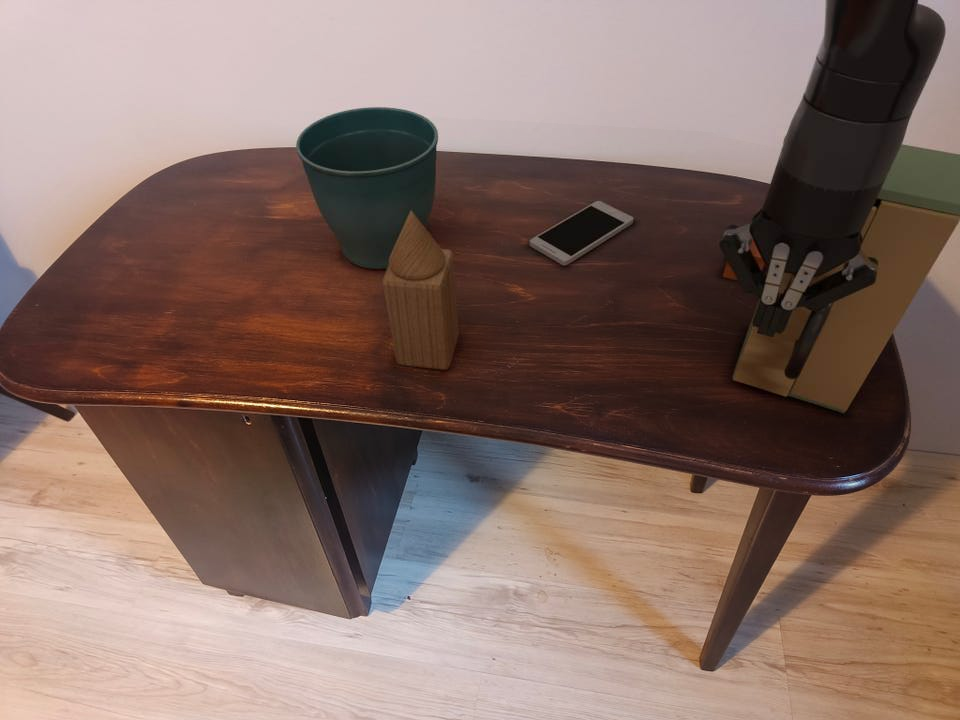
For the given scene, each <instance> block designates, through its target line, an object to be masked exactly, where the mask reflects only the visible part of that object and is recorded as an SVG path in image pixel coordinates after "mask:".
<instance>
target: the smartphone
mask: <svg viewBox="0 0 960 720" xmlns="http://www.w3.org/2000/svg"><path fill="white" fill-rule="evenodd" d="M633 223H634V217H633V216H632V215H630V214H627V213H625V212H624V211H621V210H620V209H618V208H615V207H613V206H611V205H609V204H608V203H605V202H603V201H601V200H596V201H594V202H592V203H591V204H589V205H588V206H586V207H584V208H582V209H580V210H578V211H577V212H575V213H573V214H572V215H569V216H568V217H566V218H565V219H563V220H562V221H559V223H556V224H554V225H553V226H551V227H549V228H548V229H546V230H544V231H543V232H541V233H539V234H537V235H536V236H534V237H532V238H530V240H529V247H531V248H533V249H534V250H536V251H538V252H539V253H541V254H543V255H545V256H546V257H548V258H550V259H551V260H553V261H555V262H556V263H558V264H559V265H562V266H568V265H570V264H571V263H573V262H574V261H576V260H577V259H578V258H580V257H582V256H585V254H587V253H589V252H590V251H592V250H593V249H595V248H596V247H598V246H600V245H601V244H603V243H604V242H606V241H608V240H609V239H610V238H612V237H614V236H616V235H617V234H618V233H620V232H622V231H624V230H625V229H626V228H628V227H630V226H632V225H633Z"/></svg>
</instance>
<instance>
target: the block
mask: <svg viewBox="0 0 960 720" xmlns="http://www.w3.org/2000/svg"><path fill="white" fill-rule="evenodd" d="M751 240H752V243H751V246H750V250H751V252H752V254H753V256H754V258H755V259H756V261H757V263H758V265H759V267H760V269H761V271H762V272H763V269H764V267H765V265H766V264H765V263H764V262H763V260H762V258H761V256H760V253H759V251H758V249H757V247H756V245H755V243H754V241H753V239H752V238H751ZM724 267H725V268H724V270H723V273H722V278H725V279H729V280H733V281H737V282H739V281H738V280H737V278H736V276H735V274H734V272H733V270H732V269H731V267H730V265H729V263H728V261H727V260H726V264H725V266H724Z"/></svg>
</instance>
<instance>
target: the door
mask: <svg viewBox="0 0 960 720" xmlns="http://www.w3.org/2000/svg"><path fill="white" fill-rule="evenodd" d="M876 209H877V207H874V206H873V207H872V210H871V212H870V214H869V216H868V218H867V220H866V222H865V224H864V227H863V229H862V231H861V235H862V239H863V237H864V235H865V233H866V231H867V229H868V227H869V224H870V222H871V220H872V218H873V216H874V214H875V212H876ZM847 262H848V261H847ZM845 263H846V262H845ZM845 263H843V264H842V265H840V266H838V267H836V268H834V269H832V270H830V271H828V272H827V273H825V274H823V275H821V276H818V277H813V278H812V280H811V281H810V283H809V285H808V286H810V285H812V284H814V283H816V282H818V281H820V280H822V279H824V278H826V277H828V276H830V275H832V274H834V273H836V272H838V271H840V270H842V269H843V266H844V264H845ZM791 276H792V274H790V273H784V275H783V278H782V282H781V286H780V289H779V292H778V293H780V294H781V293H782V294H783V292H784V290H785V289H786V286H787V284H788V282H789V280H790V278H791ZM780 294H779V296H780ZM778 299H779V298H778ZM831 304H832V303H831ZM831 304H829V305H826V306H824V307H822V308H820V309H817V310H814V311H811V310H808V309H807V308H806V307H797V308H795V309H794V310H793V311H792V314H791V316H790V318H789V321H788V323H787V325H786V328H785V330H784V331H783V332H782V333H781V334H779V333H776V332H775V334H774V336H773V337H769V336H766V335H762V334H759V333H757V331H758V327H754V326H753V327H752V329H751V332H750V335H749V337H748V340H747V343H746V345H745V348H744V351H743V353H742V356H741V359H740V361H739V364H738V367H737V369H736V372H735V375H734V377H733V376H732V377H733V378H732V381H735V382H738V383H742V384H745V385H747V386H751V387H754V388H757V389H760V390H763V391H767V392H770V393H773V394H775V395H780V396H782V397H786V398H787V397H788V393H789V391H790V389H791V387H792V385H793V383H794V381H795V379H796V378H798V377H799V375H800V373H801V371H802V369H803V367H804V365H805V363H806V361H807V359H808V357H809V355H810V353H811V351H812V349H813V346H814V344H815V342H816V340H817V338H818V336H819V334H820V332H821V330H822V328H823V326H824V324H825V322H826V320H827V318H828V315H829V313H830V310H831V309H830V306H831ZM766 331H767V330H766ZM765 334H766V333H765Z"/></svg>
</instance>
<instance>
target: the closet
mask: <svg viewBox="0 0 960 720" xmlns="http://www.w3.org/2000/svg"><path fill="white" fill-rule="evenodd" d="M873 206H874V207H877V209H876V212H875V214H874V216H873V218H872V220H871V222H870V224H869V227H868V229H867V231H866V233H865V235H864V237H863V239H862V244H861V250H862V251H863V253H864V254H865V255H866V256H867V257H873V258H875V259H877V260H878V271H877V276H876V281H875V283H874V284H873V285H871V286H868V287H866V288H864V289H862V290H860V291H857V292H855V293H853V294H851V295H848V296H846V297H844V298H842V299H840V300H837V301H835V302H833V303H832V304H831V306H830V309H831V310H830V313H829V315H828V318H827V320H826V322H825V324H824V326H823V328H822V330H821V332H820V334H819V336H818V338H817V340H816V342H815V344H814V346H813V349H812V351H811V353H810V355H809V357H808V359H807V361H806V363H805V365H804V367H803V369H802V371H801V373H800V375H799V377H798V378H796V379H795V381H794V383H793V385H792V387H791V389H790V391H789V393H788V395H787V397H791V398H794V399H798V400H801V401H804V402H807V403H810V404H813V405H816V406H819V407H823V408H825V409H829V410H832V411H836V412H838V413H841V414H845V413H846V412H847V411H848V409H849V407H850V406H851V404H852V402H853V401H854V399H855V397H856V395H857V394H858V392H859V390H860V389H861V387H862V386H863V384H864V383H865V380H866V379H867V377H868V376H869V373H870V372H871V370H872V368H873V367H874V365H875V364H876V362H877V361H878V358H879V357H880V355H881V354H882V352H883V351H884V348H885V347H886V346H887V344H888V342H889V341H890V338H891V337H892V335H893V334H894V332H895V330H896V328H897V327H898V325H899V323H900V322H901V320H902V318H903V317H904V315H905V313H906V312H907V309H908V308H909V307H910V305H911V303H912V302H913V300H914V298H915V297H916V295H917V293H919V290H920V288H921V286H922V285H923V283H924V281H925V280H926V278H927V277H928V275H929V273H930V272H931V270H932V268H933V266H934V265H935V263H936V262H937V260H938V259H939V256H940V254H941V253H942V251H943V250H944V248H945V246H946V245H947V243H948V241H949V239H950V238H951V236H952V234H953V233H954V231H955V229H956V228H957V226H958V225H959V223H960V154H959V153H953V152H948V151H944V150H943V151H942V150H936V149H931V148H924V147H919V146H914V145H909V144H903V143H902V145H901V147H900V150H899V152H898V154H897V156H896V158H895V161H894V163H893V165H892V167H891V169H890V171H889V173H888V175H887V177H886V180H885V182H884V184H883V186H882V188H881V190H880V192H879V195H878V197H877V199H876V201H875V203H874V205H873ZM759 302H760V299H759V300H758V303H757V306H756V308H755V310H754V313H753V316H752V318H751V320H750V324H749V327H748V330H747V332H746V335H745V338H744V341H743V344H742V347H741V350H740V353H739V356H738V359H737V362H736V364H735V367H734V371H733V374H732V377H731V378H732V379H733V377H734V375H735V372H736V369H737V367H738V364H739V361H740V359H741V356H742V353H743V351H744V348H745V345H746V343H747V340H748V337H749V335H750V332H751V329H752V327H753V319H754V316H755V313H756V310H757V307H758V305H759Z"/></svg>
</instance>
